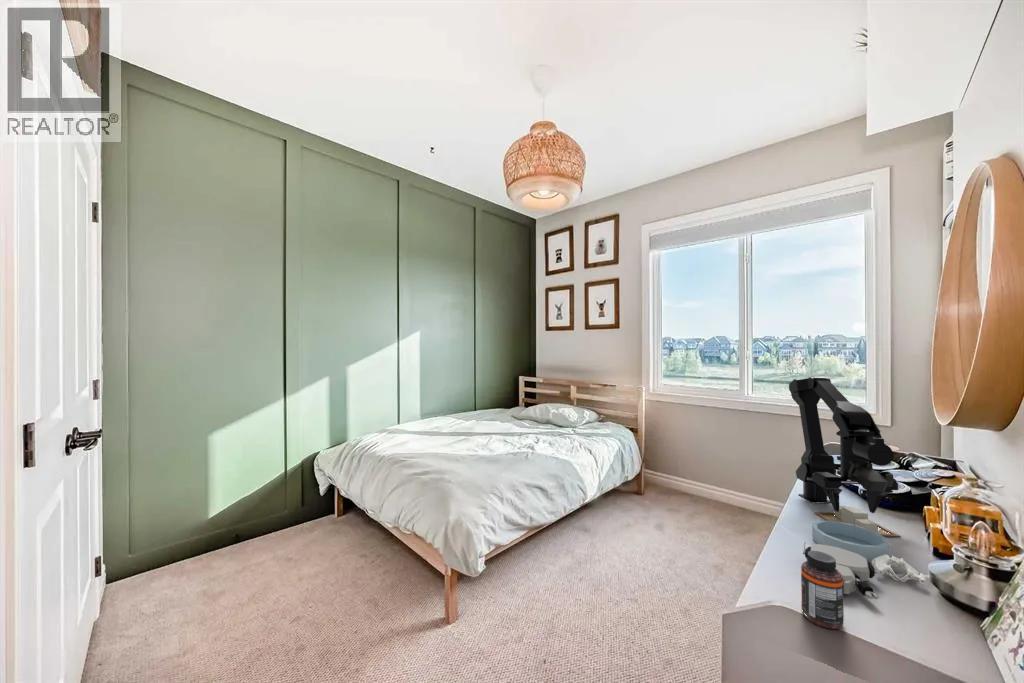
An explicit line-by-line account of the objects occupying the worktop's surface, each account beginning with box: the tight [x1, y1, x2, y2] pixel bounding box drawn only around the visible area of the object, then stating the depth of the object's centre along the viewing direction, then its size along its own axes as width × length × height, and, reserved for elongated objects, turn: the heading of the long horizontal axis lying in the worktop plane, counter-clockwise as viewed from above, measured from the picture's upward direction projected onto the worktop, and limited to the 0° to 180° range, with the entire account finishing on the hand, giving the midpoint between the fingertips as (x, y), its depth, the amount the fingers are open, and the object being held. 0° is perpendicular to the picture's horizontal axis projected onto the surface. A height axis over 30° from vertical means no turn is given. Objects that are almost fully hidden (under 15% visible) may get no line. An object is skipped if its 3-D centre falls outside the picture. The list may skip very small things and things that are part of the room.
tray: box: [813, 511, 902, 539], centre depth 109 cm, size 14×12×1 cm
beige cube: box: [842, 506, 869, 525], centre depth 109 cm, size 4×4×4 cm
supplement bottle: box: [800, 551, 845, 630], centre depth 71 cm, size 6×6×11 cm
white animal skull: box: [871, 554, 927, 584], centre depth 84 cm, size 8×4×7 cm
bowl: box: [811, 519, 891, 562], centre depth 96 cm, size 14×14×4 cm
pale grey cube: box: [855, 518, 879, 533], centre depth 104 cm, size 3×3×3 cm
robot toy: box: [802, 540, 879, 600], centre depth 83 cm, size 12×4×15 cm
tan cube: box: [833, 505, 848, 519], centre depth 113 cm, size 3×3×3 cm
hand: (854, 511), depth 109 cm, fingers open, 9 cm apart
